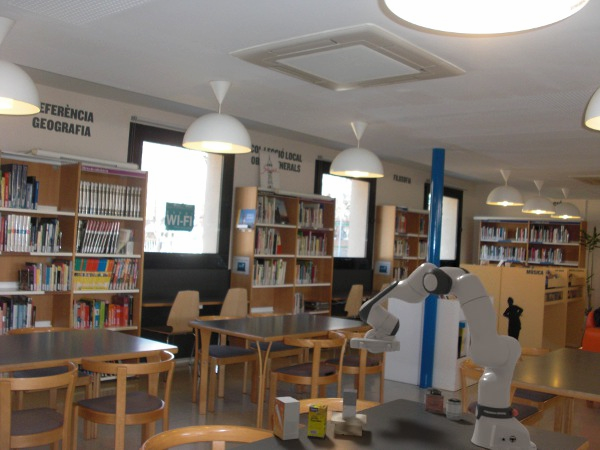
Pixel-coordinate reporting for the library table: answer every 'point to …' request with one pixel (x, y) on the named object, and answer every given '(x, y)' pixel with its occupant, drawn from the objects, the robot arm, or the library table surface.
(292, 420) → the small box
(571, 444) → the library table surface
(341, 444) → the library table surface
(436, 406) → the lighter
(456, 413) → the camera lens
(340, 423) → the birch stand
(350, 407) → the block
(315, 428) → the supplement box
